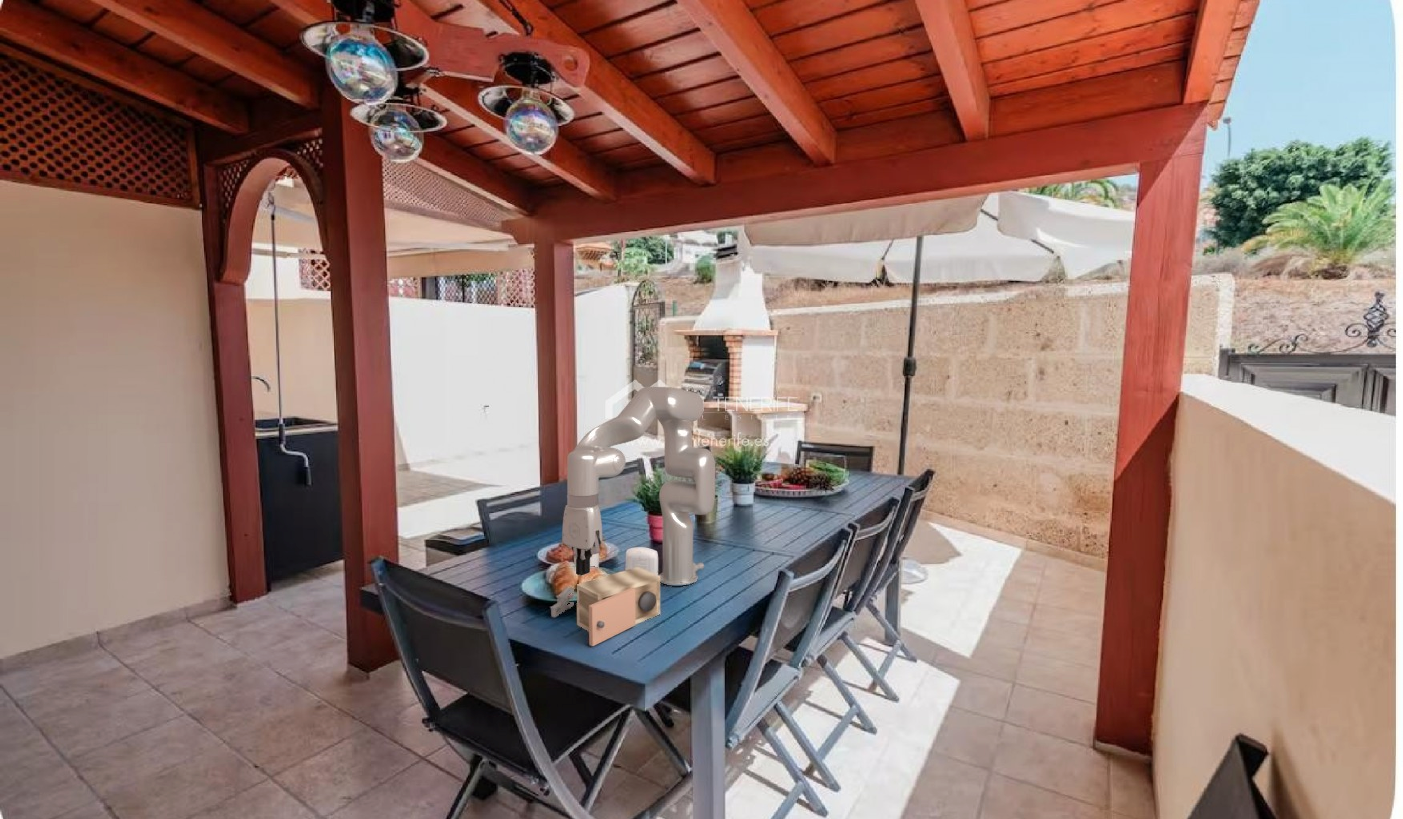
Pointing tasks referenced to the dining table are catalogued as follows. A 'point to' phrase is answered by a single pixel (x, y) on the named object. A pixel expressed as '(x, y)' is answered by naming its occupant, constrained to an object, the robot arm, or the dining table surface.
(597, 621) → the door
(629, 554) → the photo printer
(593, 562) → the white cup
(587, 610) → the wooden cabinet
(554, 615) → the garden wall model
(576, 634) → the dining table surface
